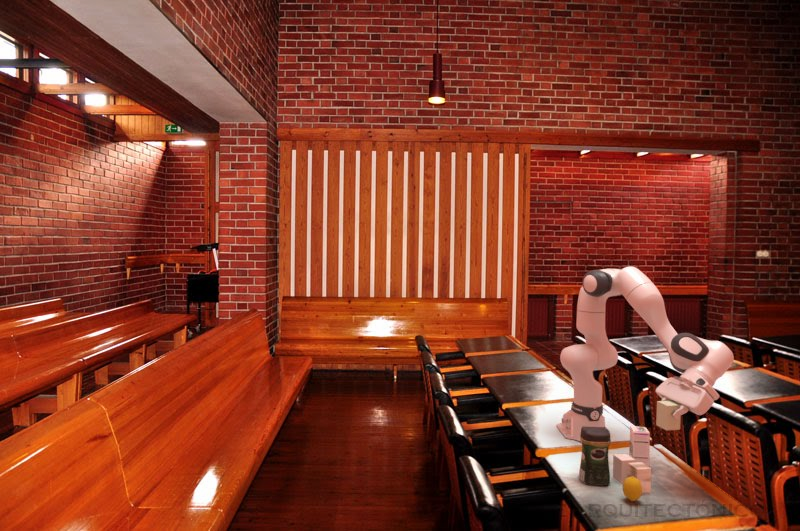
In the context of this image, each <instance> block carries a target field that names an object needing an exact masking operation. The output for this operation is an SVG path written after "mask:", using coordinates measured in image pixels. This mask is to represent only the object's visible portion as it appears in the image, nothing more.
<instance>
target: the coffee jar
mask: <svg viewBox="0 0 800 531" xmlns="http://www.w3.org/2000/svg"><path fill="white" fill-rule="evenodd" d="M610 433H611V432H610V431H609V429H608V428H607V427H606V426H605V427H585V426H583V427H582V428H581V434H580V439H581V441H580V442H581V457H580V465H579V474H578V475H579V476H578V477H579V479H580V481H581V482H582V483H584V484H586V485H589V486H590V485H591V486H608V485H609V484H611V483H610V482H611V475H610V474H611V473H610V463H609V448H610V445H611V434H610Z"/></svg>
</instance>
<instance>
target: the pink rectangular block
mask: <svg viewBox="0 0 800 531" xmlns="http://www.w3.org/2000/svg"><path fill="white" fill-rule="evenodd" d="M612 456H613V457H612V458H613V461H612V462H613V463H612V479H614V480H615V481H616V482H618V483H619V484H620V485H623V483H624V481H625V479H626V478H628V463H635V461H636V460H635V459H633V458H632V457H630V456H629V453H628V454H627V453H623V454H622V453H621V454H620V453H619V454H613V455H612Z"/></svg>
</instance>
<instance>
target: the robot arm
mask: <svg viewBox="0 0 800 531" xmlns="http://www.w3.org/2000/svg"><path fill="white" fill-rule="evenodd" d="M581 282H582V284H581V285H582V286H581V287H580V289H579V293H578V297H577V298H578V299H577V304H576V323H575V324H576V327H575V328H576V330H578V332H579V333H581V334H582V335H584V336H583V337H584V338H585V343H580V344H572V345H569V346H567V347H566V346H565V347H564V348H563V349H562V350H561V353H560V356H559V357H560V358H559V360H560V363H561V366H562V367H563V369H565V371H567V372H568V373H569V375H570V377H571V379H572V383H573V400H571V401H570V404H571V406H570V410H568V411H566V412H564V413H563V415H562V417H561V422H560V423H557V424H556V427H557V430H559V432H560V433H561V434H562V436H563V437H564V438H565V439H567V440H574V441H577V442H581V439H580V434H581V428H582V427H583V426H585V427H606V418H605V416H604V415H603V414H604V405H603V386H602V384H601V383H600V382H599V381H598V380H596V379H595V377H594V371H601V370H607V369H610V368H613V367H615V365H617V363H618V359H619V354H618V351H617V348H616V347H615V346H614V345H613V344H612V343H611V342H610V341H609V338H608V336H607V331H606V303H607V300H608V298H611V297H612V298H616V297H620V296H623V297H624V298H625V300H626V302H628V304H629V305H630V306H631V307H632V308H633V310H634V311H636V313H637V314H638V315H639V316H640V317H641V318H642V319H643V320H644V322H645V323H646V324H647V325H648V326H649V327H650V329H651V330H652V331H653V332H654V334H655V336H656V337H657V338H658V340H659V341H660V343H662V345H663V347H664V348H665V349H666V351H667V354H668V357H669V361H670V364H671V366H672V368H673V369H674V370H675V371H677V372H679V373H681V375H680V376H676V375H675V376H673V377H672V376H671V377H669V378H666V379H665V380H664V381H663V382H662V383H660V384H659V385H658V386H657V387H656V388H655V393H656V395H657V396H659V398H660V399H661V401H673V402H675V403H677V404H679V405H681V406H680V409H678V410H676V411H675V410H674V411H673V412H672V413H671V415H672V417H674V418H676V419H677V418H678V417H679V416H680V415H681V416H682V415H684V414H686V413H688V412H691V413H693V414H695V415H698V416H702V415H704V414H706V412H708V411H709V410H710V408H711V407H712V406H713V405H714V403H715V401H717V400H718V399H719V398H720V394H719V393H718V392H717V391H716V390H715V388H714V387H713V386H715V383H716V381H717V380H718V379H720V378H721V377H723V376H724V374H726V373H727V371H728V370H729V368H730V367H731V366H732V364H733V362H734V359H735V357H734V353H733V351H732V350H731V348H730V347H728V345H726V343H724V342H722V341H719V340H709V339H704V338H702V337H698V336H697V335H694V334H693V333H690V332H681V333H678V332H677V331H676V330H675V329H674V327H673V326H672V325H671V323H670V320H669V319H668V316H667V312H666V306H665V301H664V298H663V296H662V294H661V292H660V290H659V289H658V287H657V286H656V285H655V284H654V282H653V281H651V279H650V278H649V277H648V276H647V275H646V274H645V273H643V271H641V270H640V269H639V268H637V267H635V266H626V267H623V268H611V267H610V268H603V269H593V270H590V271H587V272H586V273H585V274H584V276H583V277H582V281H581Z"/></svg>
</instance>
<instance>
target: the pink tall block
mask: <svg viewBox="0 0 800 531" xmlns="http://www.w3.org/2000/svg"><path fill="white" fill-rule="evenodd" d="M631 476H634V477H635V478H637V479H638V480H639V481H640V483H641V486H642V494H651V489H652V468H651V467H650V466H649V467H648V466H647V465H645V464H644V463H642V462H637V463H628V477H631Z"/></svg>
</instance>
